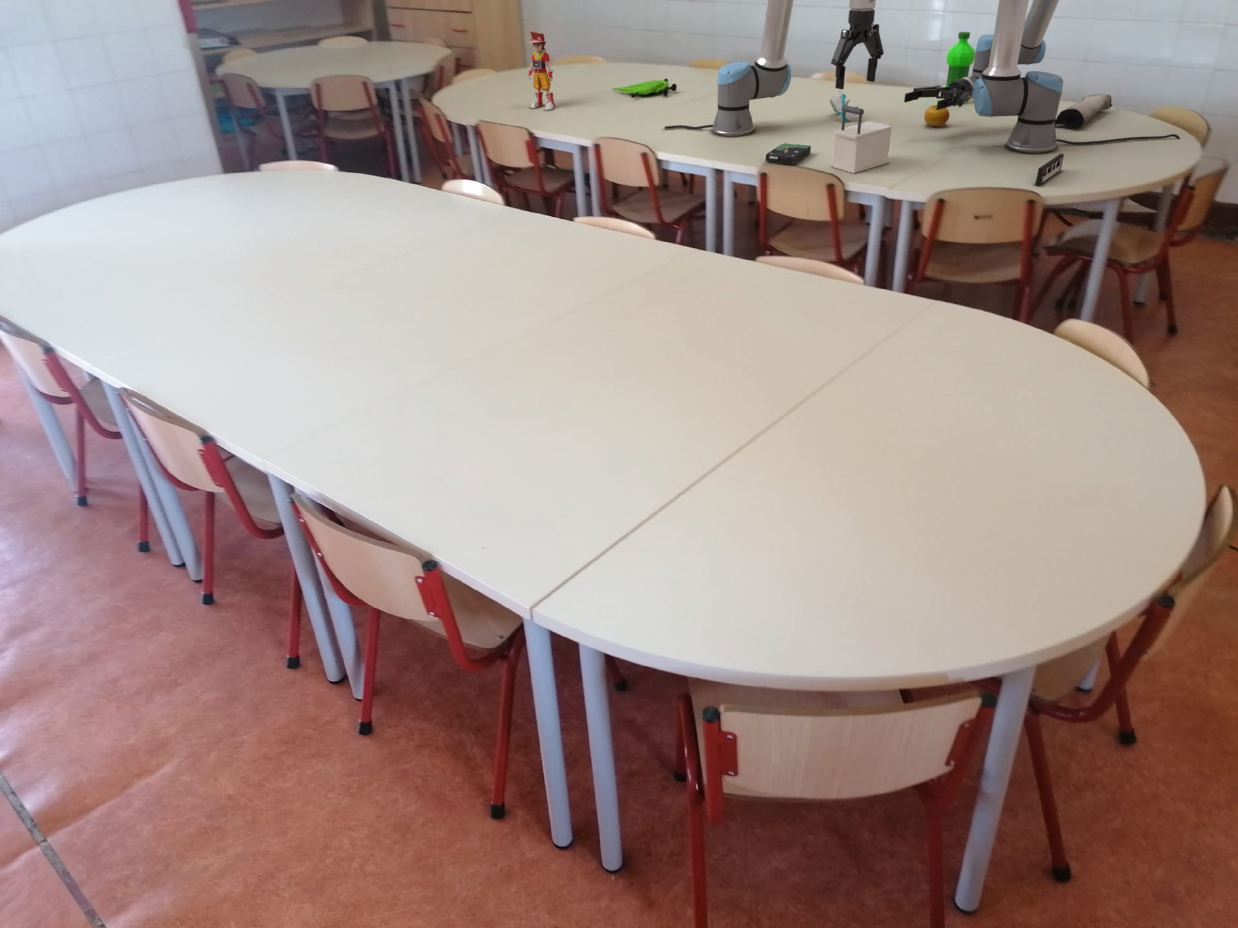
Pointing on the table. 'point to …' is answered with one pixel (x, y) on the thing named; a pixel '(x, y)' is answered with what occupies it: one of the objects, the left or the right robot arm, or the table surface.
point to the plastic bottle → (960, 58)
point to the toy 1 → (541, 71)
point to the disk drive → (788, 153)
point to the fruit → (936, 116)
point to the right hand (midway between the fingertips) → (921, 102)
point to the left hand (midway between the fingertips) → (855, 85)
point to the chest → (861, 152)
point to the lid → (859, 125)
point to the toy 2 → (648, 88)
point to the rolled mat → (1083, 110)
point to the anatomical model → (839, 102)
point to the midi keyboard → (1049, 169)
